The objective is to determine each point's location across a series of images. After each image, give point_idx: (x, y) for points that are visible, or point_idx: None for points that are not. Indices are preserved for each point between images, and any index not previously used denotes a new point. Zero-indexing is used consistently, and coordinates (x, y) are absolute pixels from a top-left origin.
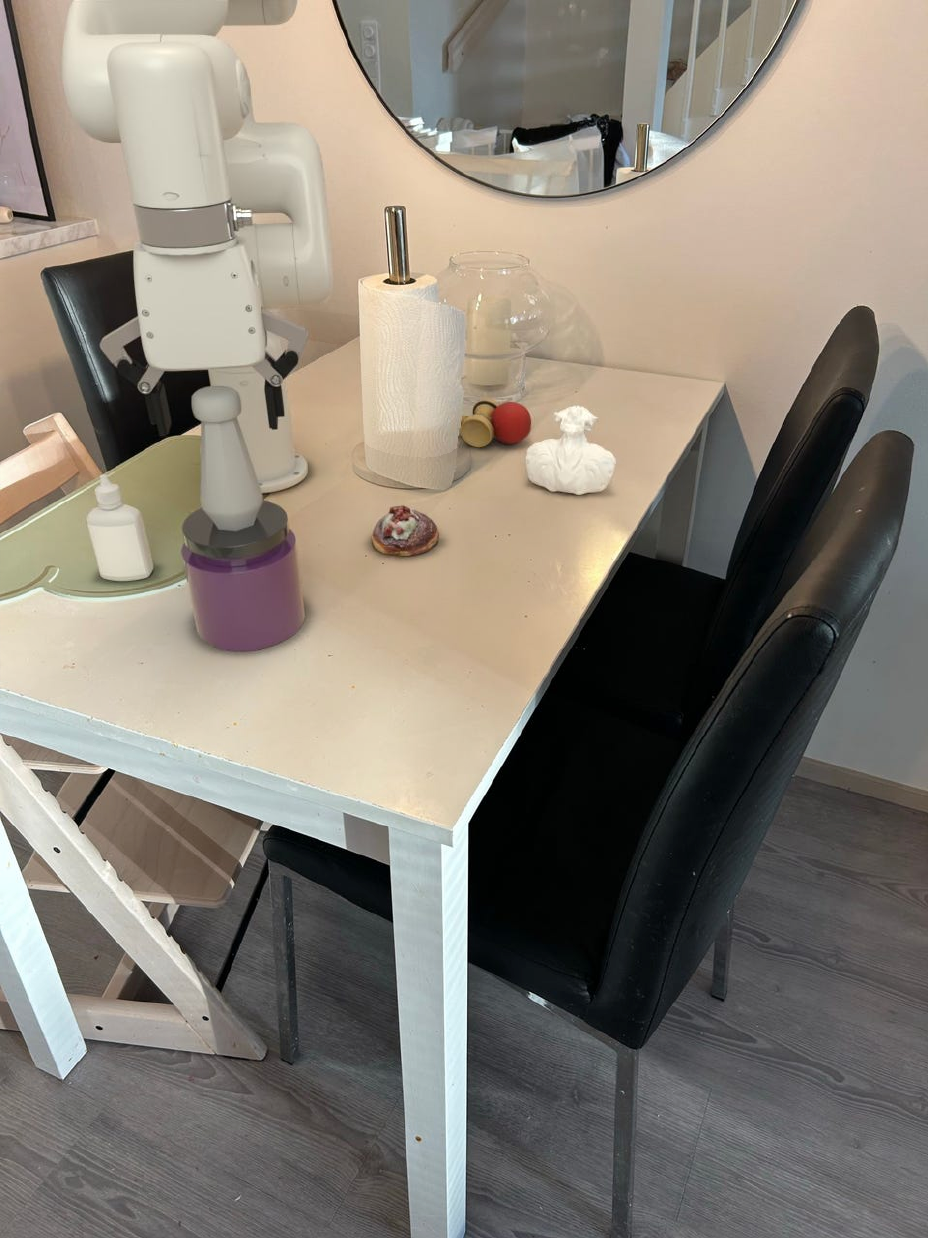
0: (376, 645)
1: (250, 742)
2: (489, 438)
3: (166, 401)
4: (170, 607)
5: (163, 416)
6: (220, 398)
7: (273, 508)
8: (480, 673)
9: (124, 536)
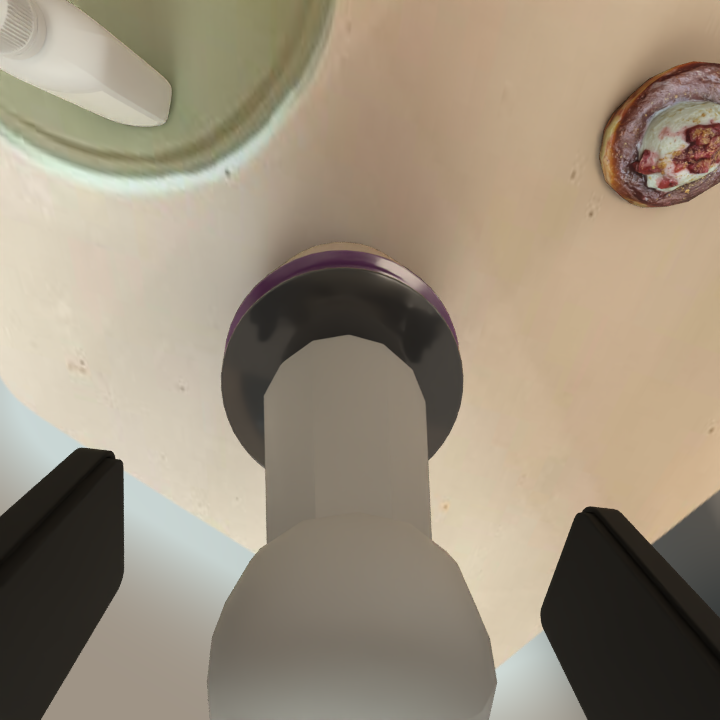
0: (498, 437)
1: None
2: None
3: (50, 562)
4: (214, 246)
5: (70, 664)
6: None
7: (439, 353)
8: None
9: (88, 102)
